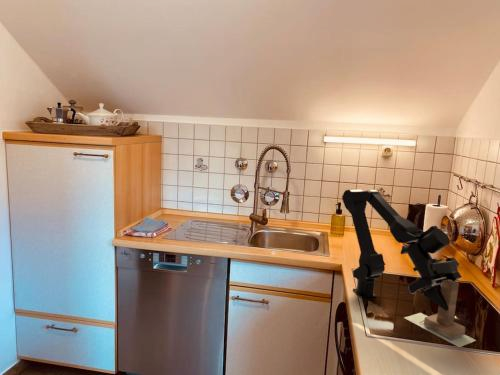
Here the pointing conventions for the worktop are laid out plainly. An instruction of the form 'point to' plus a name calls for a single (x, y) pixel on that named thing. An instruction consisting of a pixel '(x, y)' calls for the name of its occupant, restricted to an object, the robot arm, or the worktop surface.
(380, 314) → the shard
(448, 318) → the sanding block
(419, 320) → the board
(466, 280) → the worktop surface
